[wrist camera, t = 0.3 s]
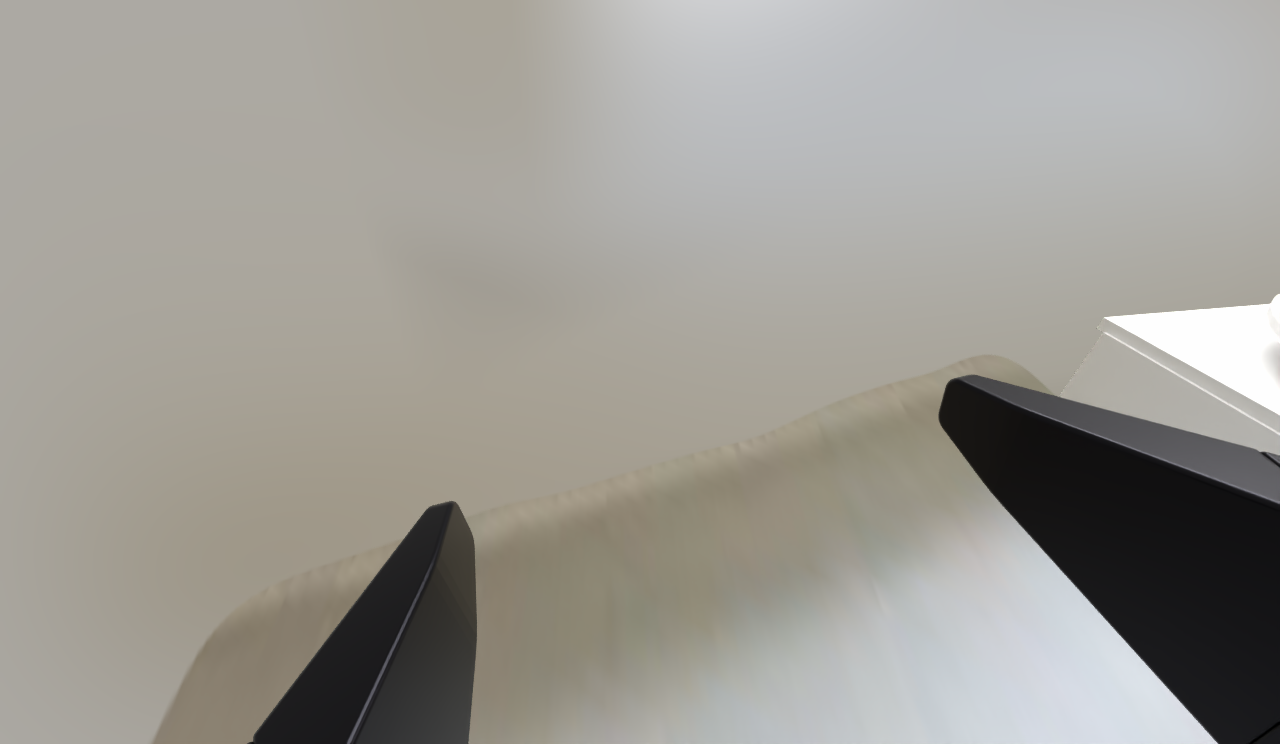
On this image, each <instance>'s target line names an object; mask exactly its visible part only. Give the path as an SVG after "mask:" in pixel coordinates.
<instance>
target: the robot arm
mask: <svg viewBox="0 0 1280 744" xmlns="http://www.w3.org/2000/svg"><path fill="white" fill-rule="evenodd" d="M938 418H939V422H940V424H941V426H942V428H943V429H944V431H945V432H946V433H947V435H948V436H949V437H950V439H951V440H952V441H953V443H954V444H955V445H956V447H957V448H958V449H959V451H960V452H961V453H962V455H963V456H964V457H965V459H966V460H967V461H968V463H969V464H970V465H971V467H972V468H973V469H974V471H975V472H976V473H977V475H978V476H979V477H980V479H981V480H982V481H983V483H984V484H985V485H986V486H987V488H988V489H989V490H990V492H991V493H992V494H993V495H994V496H995V497H996V499H997V500H998V501H999V502H1000V503H1001V504H1002V506H1003V507H1004V508H1005V509H1006V510H1007V511H1008V512H1009V513H1010V514H1011V515H1012V517H1013V518H1014V519H1015V520H1016V521H1017V522H1018V523H1019V524H1020V525H1021V527H1022V528H1023V529H1024V530H1025V531H1026V532H1027V533H1028V534H1029V535H1030V536H1031V538H1032V539H1033V540H1034V541H1035V542H1036V543H1037V544H1038V545H1039V546H1040V548H1041V549H1042V550H1043V551H1044V552H1045V553H1046V554H1047V555H1048V556H1049V557H1050V559H1051V560H1052V561H1053V562H1054V563H1055V564H1056V565H1057V566H1058V567H1059V569H1060V570H1061V571H1062V572H1063V573H1064V574H1065V575H1066V576H1067V577H1068V578H1069V580H1070V581H1071V582H1072V583H1073V584H1074V585H1075V586H1076V587H1077V588H1078V590H1079V591H1080V592H1081V593H1082V594H1083V595H1084V596H1085V597H1086V598H1087V599H1088V601H1089V602H1090V603H1091V604H1092V605H1093V606H1094V607H1095V608H1096V609H1097V611H1098V612H1099V613H1100V614H1101V615H1102V616H1103V617H1104V618H1105V619H1106V620H1107V622H1108V623H1109V624H1110V625H1111V626H1112V627H1113V628H1114V629H1115V630H1116V631H1117V633H1118V634H1119V635H1120V636H1121V637H1122V638H1123V639H1124V640H1125V641H1126V643H1127V644H1128V645H1129V646H1130V647H1131V648H1132V649H1133V650H1134V651H1135V652H1136V654H1137V655H1138V656H1139V657H1140V658H1141V659H1142V660H1143V661H1144V662H1145V664H1146V665H1147V666H1148V667H1149V668H1150V669H1151V670H1152V671H1153V672H1154V673H1155V675H1156V676H1157V677H1158V678H1159V679H1160V680H1161V681H1162V682H1163V683H1164V685H1165V686H1166V687H1167V688H1168V689H1169V690H1170V691H1171V692H1172V693H1173V694H1174V696H1175V697H1176V698H1177V699H1178V700H1179V701H1180V702H1181V703H1182V704H1183V706H1184V707H1185V708H1186V709H1187V710H1188V711H1189V712H1190V713H1191V714H1192V715H1193V717H1194V718H1195V719H1196V720H1197V721H1198V722H1199V723H1200V724H1201V725H1202V727H1203V728H1204V729H1205V730H1206V731H1207V732H1208V733H1209V734H1210V735H1211V736H1212V738H1213V739H1214V740H1215V741H1216V742H1217V743H1218V744H1280V455H1276V454H1273V453H1269V452H1264V451H1263V452H1259V451H1258V450H1256V449H1253V448H1250V447H1246V446H1242V445H1238V444H1234V443H1231V442H1227V441H1223V440H1219V439H1216V438H1212V437H1208V436H1204V435H1200V434H1197V433H1193V432H1189V431H1185V430H1182V429H1178V428H1174V427H1170V426H1167V425H1163V424H1159V423H1155V422H1151V421H1148V420H1144V419H1140V418H1136V417H1133V416H1129V415H1125V414H1121V413H1117V412H1114V411H1110V410H1106V409H1102V408H1099V407H1095V406H1091V405H1087V404H1083V403H1080V402H1076V401H1072V400H1068V399H1065V398H1061V397H1057V396H1053V395H1049V394H1046V393H1042V392H1038V391H1034V390H1031V389H1027V388H1023V387H1019V386H1015V385H1012V384H1008V383H1004V382H1000V381H997V380H993V379H989V378H985V377H982V376H978V375H966V376H962V377H958V378H954V379H952V380H950V381H949V382H948V383H947V385H946V388H945V391H944V395H943V398H942V402H941V406H940V409H939V414H938ZM476 643H477V613H476V579H475V547H474V539H473V535H472V532H471V530H470V528H469V526H468V524H467V522H466V520H465V518H464V515H463V513H462V511H461V510H460V507H459V506H458V504H457V503H456V502H454V501H449V502H445V503H441V504H437V505H433V506H430V507H429V508H428V509H427V510H426V511H425V512H424V513H423V515H422V516H421V517H420V519H419V520H418V521H417V523H416V524H415V525H414V526H413V528H412V529H411V530H410V532H409V533H408V534H407V535H406V537H405V538H404V539H403V541H402V542H401V543H400V545H399V546H398V547H397V549H396V550H395V551H394V552H393V554H392V555H391V556H390V558H389V559H388V560H387V562H386V563H385V564H384V566H383V567H382V568H381V569H380V571H379V572H378V573H377V575H376V576H375V577H374V579H373V580H372V581H371V583H370V584H369V585H368V586H367V588H366V589H365V590H364V592H363V593H362V594H361V596H360V597H359V598H358V600H357V601H356V602H355V603H354V605H353V606H352V607H351V609H350V610H349V611H348V613H347V614H346V615H345V617H344V618H343V619H342V620H341V622H340V623H339V624H338V626H337V627H336V628H335V630H334V631H333V632H332V633H331V635H330V636H329V637H328V639H327V640H326V641H325V643H324V644H323V645H322V647H321V648H320V649H319V650H318V652H317V653H316V654H315V656H314V657H313V658H312V660H311V661H310V662H309V664H308V665H307V666H306V667H305V669H304V670H303V671H302V673H301V674H300V675H299V677H298V678H297V679H296V681H295V682H294V683H293V684H292V686H291V687H290V688H289V690H288V691H287V692H286V694H285V695H284V696H283V698H282V699H281V700H280V701H279V703H278V704H277V705H276V707H275V708H274V709H273V711H272V712H271V713H270V714H269V716H268V717H267V718H266V720H265V721H264V722H263V724H262V725H261V726H260V728H259V729H258V730H257V731H256V733H255V734H254V736H253V742H249V743H247V744H468V741H469V729H470V717H471V705H472V693H473V682H474V670H475V658H476Z"/></svg>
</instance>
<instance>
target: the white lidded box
mask: <svg viewBox="0 0 1280 744" xmlns="http://www.w3.org/2000/svg"><path fill="white" fill-rule="evenodd" d="M1096 329H1098V330H1099V331H1101V332H1103V333H1102V335H1101V336H1100V338H1099V339H1098V340H1097V342H1096V343H1095V345H1094V346H1093V348H1092V349H1091V351H1090V352H1089V354H1088V355H1087V356H1086V358H1085V359H1084V361H1083V362H1082V364H1081V365H1080V367H1079V368H1078V370H1077V371H1076V373H1075V374H1074V375H1073V377H1072V378H1071V380H1070V381H1069V383H1068V384H1067V386H1066V387H1065V389H1064V390H1063V391H1062V393H1061V395H1060V396H1059V397H1061V398H1065V399H1068V400H1072V401H1076V402H1080V403H1083V404H1087V405H1091V406H1095V407H1099V408H1102V409H1106V410H1110V411H1114V412H1117V413H1121V414H1125V415H1129V416H1133V417H1136V418H1140V419H1144V420H1148V421H1151V422H1155V423H1159V424H1163V425H1167V426H1170V427H1174V428H1178V429H1182V430H1185V431H1189V432H1193V433H1197V434H1200V435H1204V436H1208V437H1212V438H1216V439H1219V440H1223V441H1227V442H1231V443H1234V444H1238V445H1242V446H1246V447H1250V448H1253V449H1256V450H1258V451H1259V452H1263V451H1264V452H1269V453H1273V454H1276V455H1280V294H1278V295H1277V296H1275V298H1274V299H1273V301H1272V302H1271V304H1265V305H1252V306H1240V307H1227V308H1217V309H1216V308H1215V309H1203V310H1190V311H1179V312H1165V313H1153V314H1140V315H1129V316H1115V317H1104V318H1103V319H1102V321H1101V322H1100V324H1099V325H1098V327H1097V328H1096Z"/></svg>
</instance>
